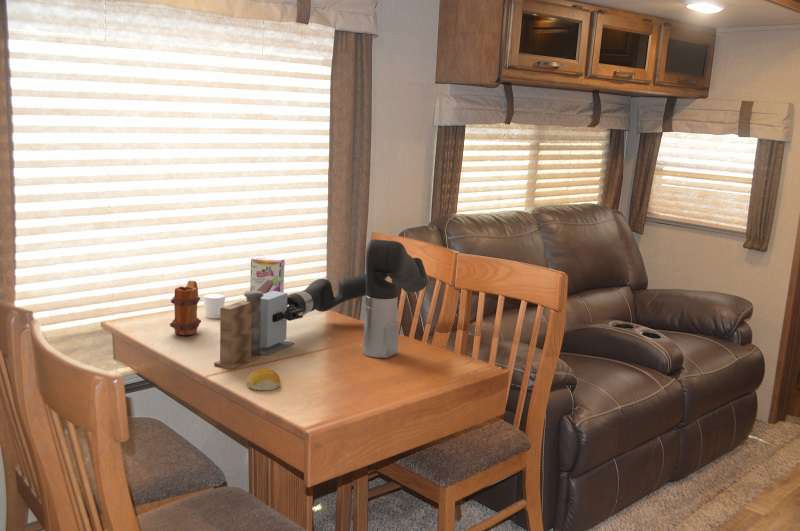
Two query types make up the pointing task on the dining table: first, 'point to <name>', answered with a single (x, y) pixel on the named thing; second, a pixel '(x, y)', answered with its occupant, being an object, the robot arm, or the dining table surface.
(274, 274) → the candy bar box
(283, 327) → the light grey block
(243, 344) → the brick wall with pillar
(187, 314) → the mug
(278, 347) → the seat pad
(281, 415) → the dining table surface
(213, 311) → the beige cup
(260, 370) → the bread roll
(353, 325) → the dining table surface
